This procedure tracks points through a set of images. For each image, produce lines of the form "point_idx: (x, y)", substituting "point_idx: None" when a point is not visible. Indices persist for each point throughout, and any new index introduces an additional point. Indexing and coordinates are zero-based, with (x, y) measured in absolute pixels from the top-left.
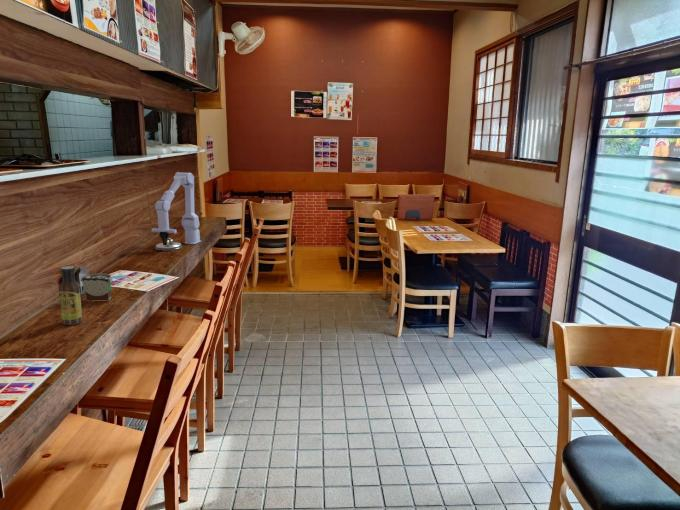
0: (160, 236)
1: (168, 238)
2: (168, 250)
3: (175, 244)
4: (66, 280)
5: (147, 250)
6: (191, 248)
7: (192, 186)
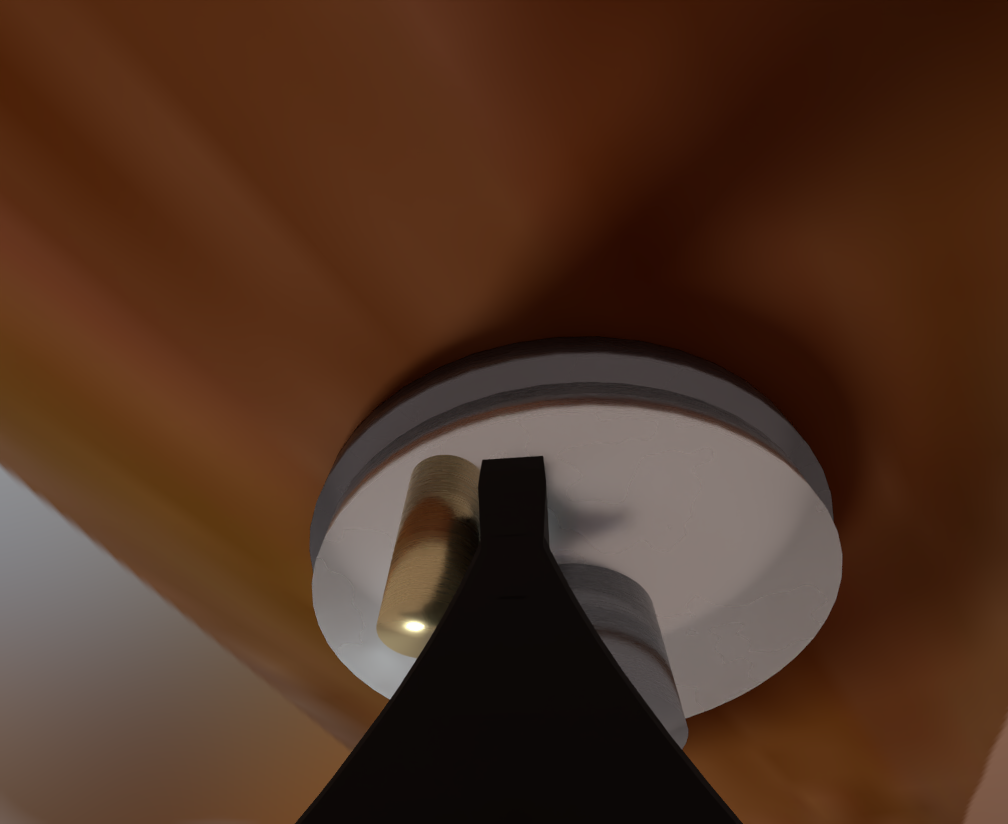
0: (651, 748)
1: None
2: (410, 388)
3: None
4: None
5: (968, 288)
6: (216, 631)
7: None
